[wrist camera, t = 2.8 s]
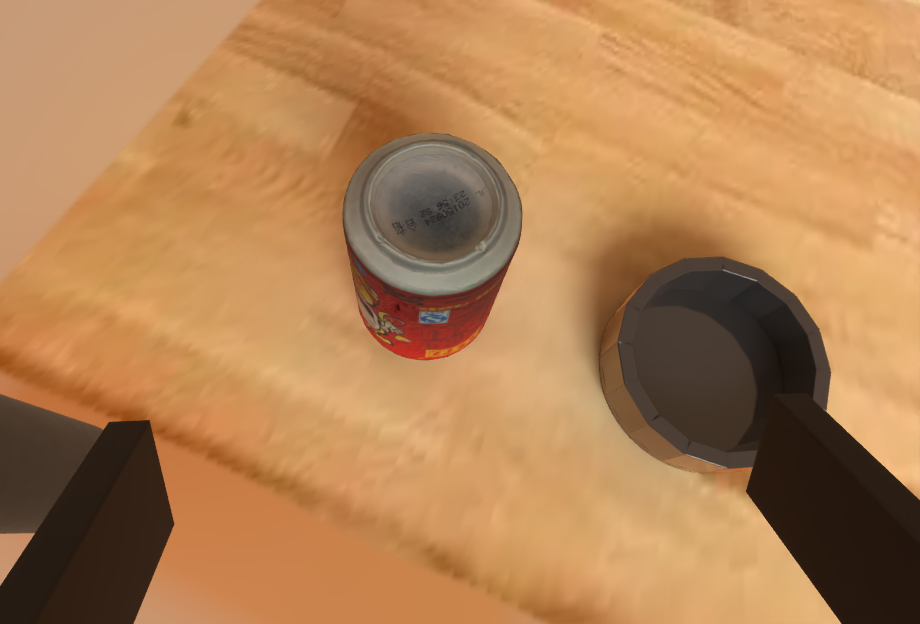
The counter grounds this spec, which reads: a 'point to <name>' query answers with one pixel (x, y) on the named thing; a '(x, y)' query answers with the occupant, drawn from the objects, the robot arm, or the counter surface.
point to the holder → (708, 362)
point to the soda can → (429, 241)
